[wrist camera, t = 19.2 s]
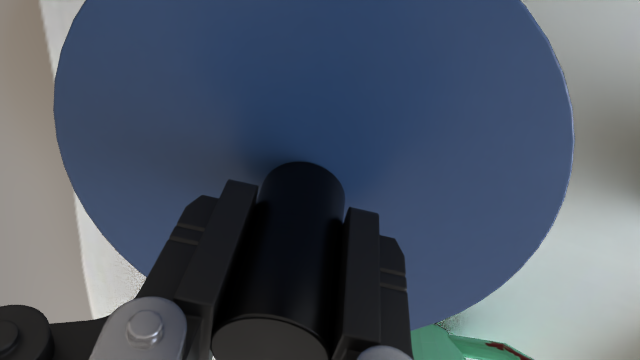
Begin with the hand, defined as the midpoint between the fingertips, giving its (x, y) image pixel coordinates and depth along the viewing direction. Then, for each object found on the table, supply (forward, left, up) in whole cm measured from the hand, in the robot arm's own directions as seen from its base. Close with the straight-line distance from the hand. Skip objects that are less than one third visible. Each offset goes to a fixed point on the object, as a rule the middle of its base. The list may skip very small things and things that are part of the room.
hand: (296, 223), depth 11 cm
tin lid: (0, 0, -2) cm, 2 cm away
